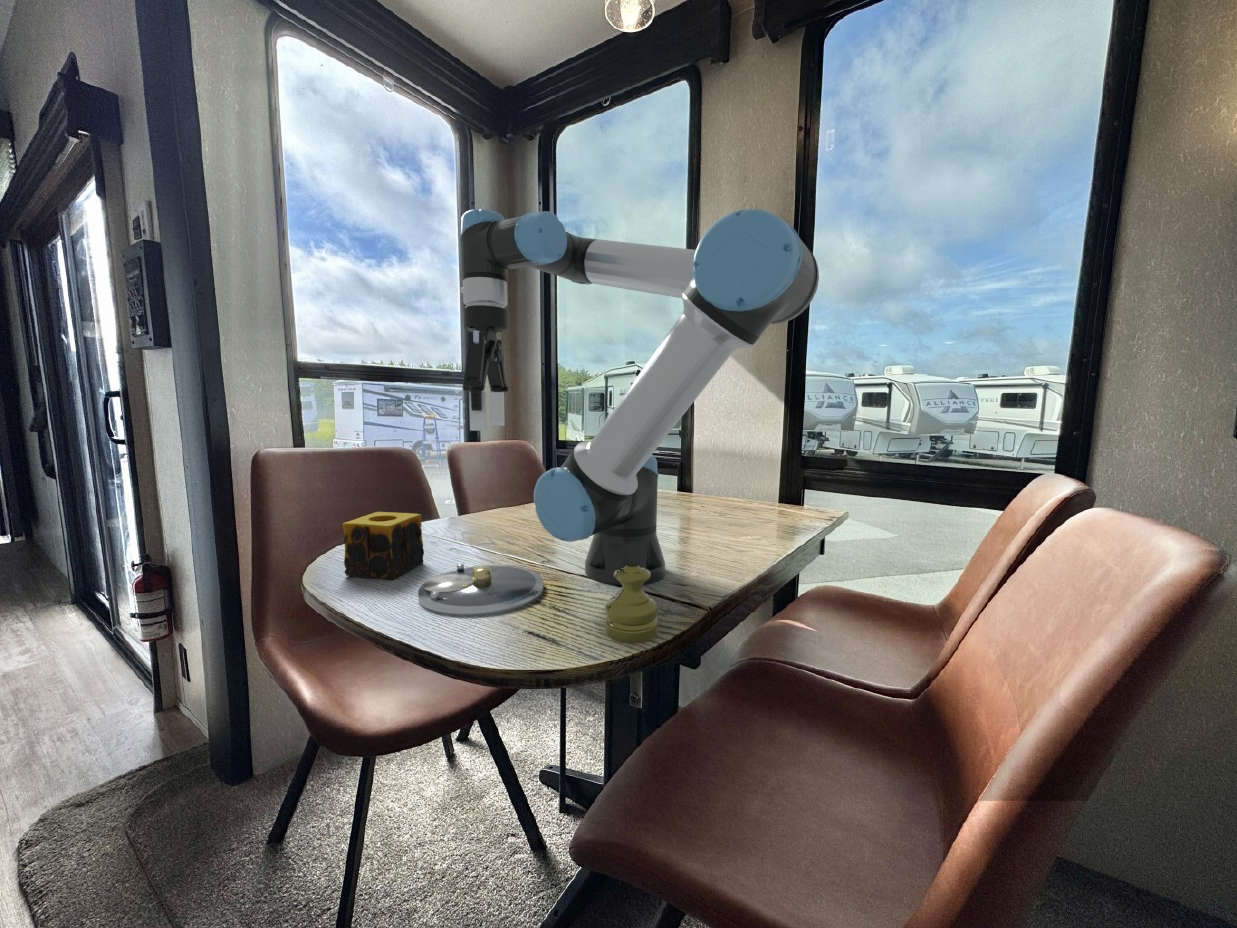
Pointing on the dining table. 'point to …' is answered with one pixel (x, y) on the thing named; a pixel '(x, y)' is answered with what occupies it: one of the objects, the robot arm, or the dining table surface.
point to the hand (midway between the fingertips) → (488, 428)
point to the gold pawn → (631, 608)
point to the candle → (383, 545)
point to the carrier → (480, 590)
